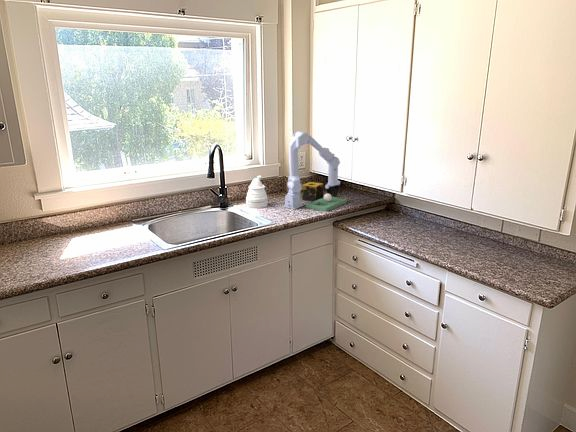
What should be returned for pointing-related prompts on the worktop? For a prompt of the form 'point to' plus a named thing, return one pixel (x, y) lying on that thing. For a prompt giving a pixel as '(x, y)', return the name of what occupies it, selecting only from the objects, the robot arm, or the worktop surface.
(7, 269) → the worktop surface
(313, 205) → the green mat
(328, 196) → the ball
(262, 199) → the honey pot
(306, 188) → the yellow cube with hole
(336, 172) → the robot arm
